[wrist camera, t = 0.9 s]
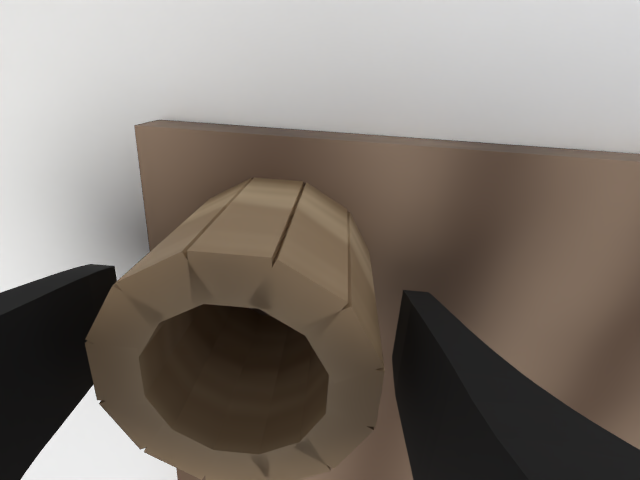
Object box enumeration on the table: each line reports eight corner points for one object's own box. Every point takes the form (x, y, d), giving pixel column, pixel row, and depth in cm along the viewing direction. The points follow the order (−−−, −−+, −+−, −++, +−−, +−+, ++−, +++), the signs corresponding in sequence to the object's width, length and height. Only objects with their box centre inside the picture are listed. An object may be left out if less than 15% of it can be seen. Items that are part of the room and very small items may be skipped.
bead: (377, 186, 11) (401, 267, 6) (358, 348, 13) (364, 497, 8) (181, 171, 11) (62, 240, 6) (194, 334, 13) (112, 471, 9)
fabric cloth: (761, 162, 11) (819, 174, 10) (569, 540, 18) (587, 577, 17) (158, 120, 12) (134, 125, 11) (196, 500, 19) (184, 533, 18)
